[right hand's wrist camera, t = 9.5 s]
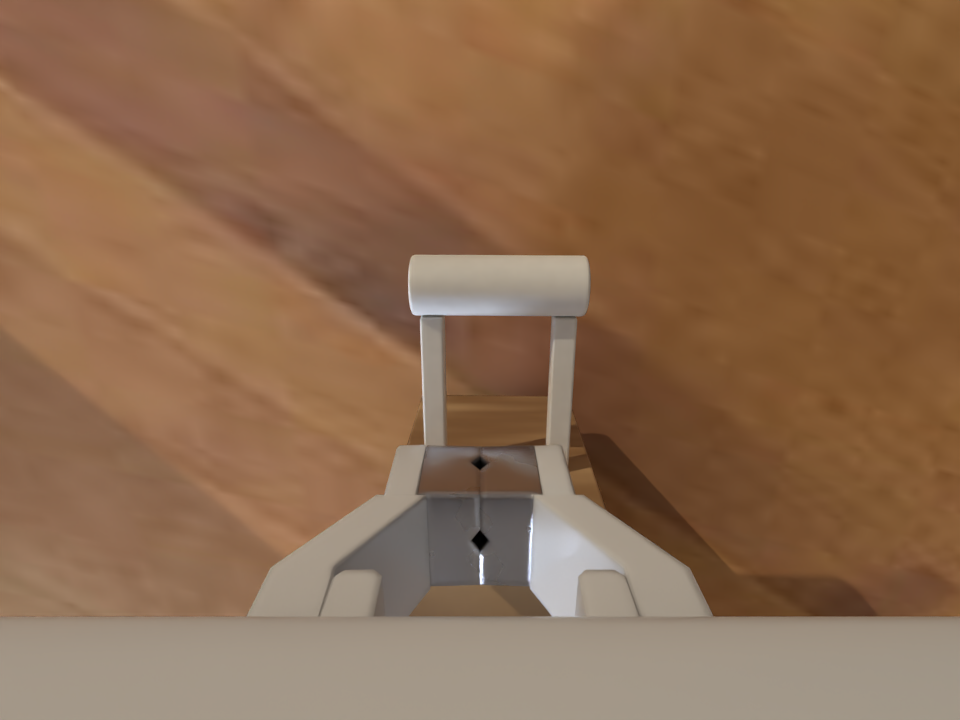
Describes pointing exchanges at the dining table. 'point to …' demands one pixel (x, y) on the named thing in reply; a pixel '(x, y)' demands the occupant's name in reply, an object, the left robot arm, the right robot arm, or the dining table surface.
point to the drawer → (499, 419)
